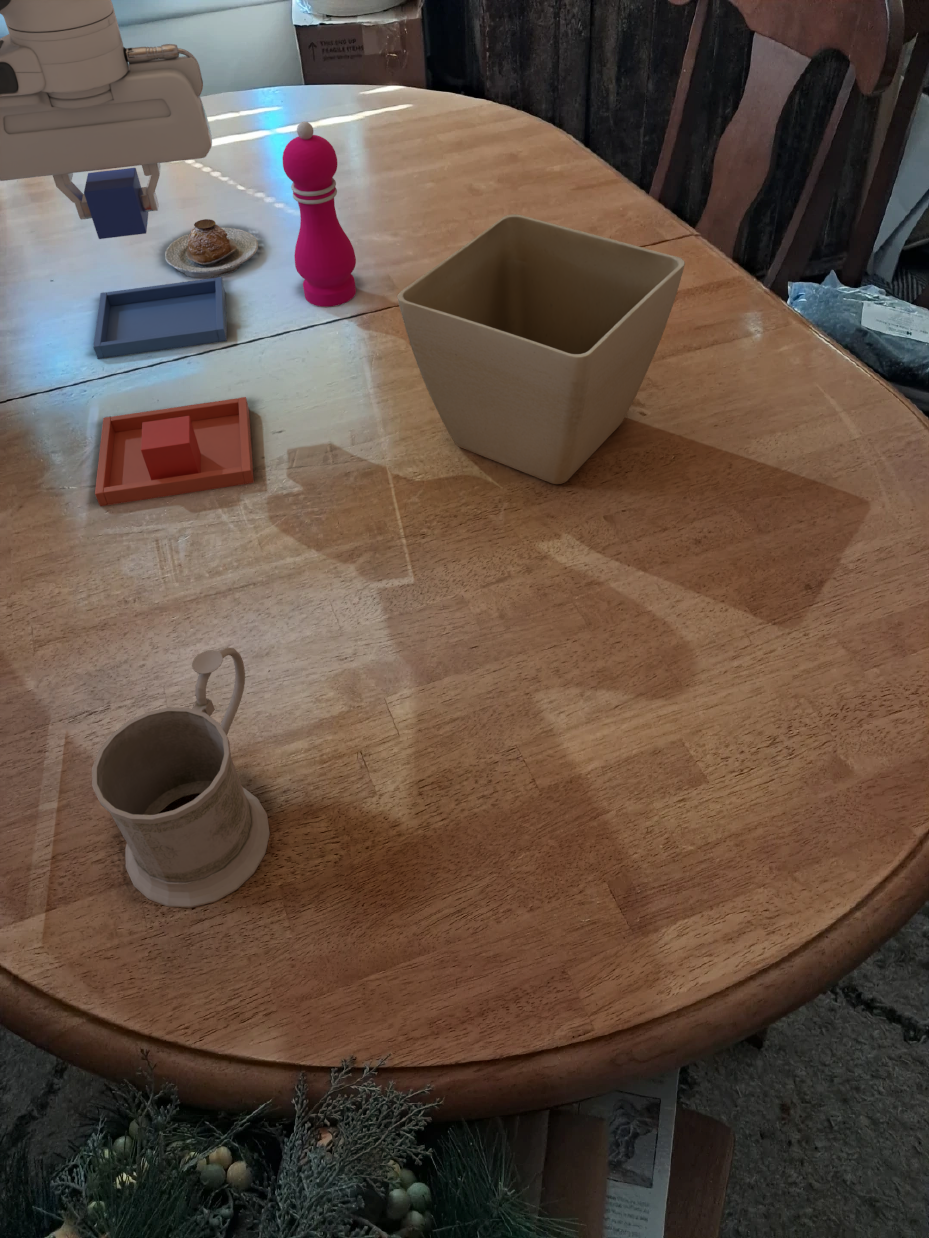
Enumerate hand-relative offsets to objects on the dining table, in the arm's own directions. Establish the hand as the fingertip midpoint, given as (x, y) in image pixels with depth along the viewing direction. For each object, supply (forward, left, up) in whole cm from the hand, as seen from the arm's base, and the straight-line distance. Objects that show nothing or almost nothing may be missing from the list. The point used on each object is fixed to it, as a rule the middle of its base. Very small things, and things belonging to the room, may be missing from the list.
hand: (119, 213), depth 95 cm
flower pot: (+37, -19, -19) cm, 46 cm away
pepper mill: (+19, +15, -19) cm, 31 cm away
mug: (+4, -57, -19) cm, 60 cm away
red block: (+1, -17, -18) cm, 25 cm away
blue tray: (-1, +13, -19) cm, 23 cm away
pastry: (+5, +29, -19) cm, 35 cm away
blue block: (0, 0, -1) cm, 1 cm away
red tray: (+1, -14, -19) cm, 24 cm away
